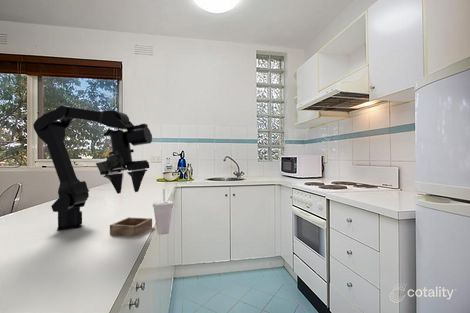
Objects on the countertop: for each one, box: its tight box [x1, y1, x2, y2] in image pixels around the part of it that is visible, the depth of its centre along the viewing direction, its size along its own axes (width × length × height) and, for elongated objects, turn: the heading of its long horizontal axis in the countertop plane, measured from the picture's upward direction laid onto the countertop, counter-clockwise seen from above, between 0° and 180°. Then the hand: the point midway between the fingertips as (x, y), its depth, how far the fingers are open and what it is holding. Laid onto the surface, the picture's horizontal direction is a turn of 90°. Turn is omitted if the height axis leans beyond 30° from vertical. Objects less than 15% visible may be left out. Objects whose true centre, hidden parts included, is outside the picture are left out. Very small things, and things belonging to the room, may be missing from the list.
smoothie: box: [152, 188, 174, 236], centre depth 75 cm, size 6×6×14 cm
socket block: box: [109, 216, 153, 237], centre depth 77 cm, size 9×9×3 cm
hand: (127, 192), depth 80 cm, fingers open, 9 cm apart
